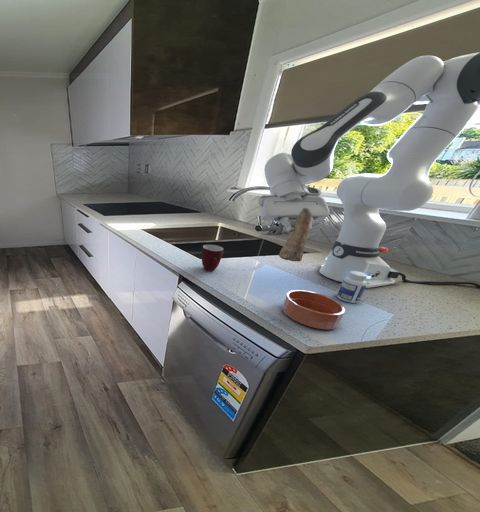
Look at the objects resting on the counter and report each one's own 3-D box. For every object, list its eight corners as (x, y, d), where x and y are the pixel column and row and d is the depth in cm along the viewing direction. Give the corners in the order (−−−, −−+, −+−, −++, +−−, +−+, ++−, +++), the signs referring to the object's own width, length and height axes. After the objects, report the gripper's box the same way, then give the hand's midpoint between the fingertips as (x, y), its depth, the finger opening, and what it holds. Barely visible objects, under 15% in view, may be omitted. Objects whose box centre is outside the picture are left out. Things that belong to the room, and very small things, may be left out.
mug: (225, 276, 99) (230, 253, 95) (205, 276, 99) (209, 253, 96) (214, 265, 109) (218, 244, 105) (196, 265, 109) (200, 244, 105)
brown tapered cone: (274, 256, 86) (286, 264, 80) (286, 206, 78) (300, 211, 73) (292, 255, 86) (306, 262, 80) (306, 204, 78) (322, 209, 73)
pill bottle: (351, 295, 84) (362, 270, 80) (362, 304, 79) (375, 278, 76) (332, 294, 85) (343, 269, 82) (342, 302, 81) (354, 276, 77)
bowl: (311, 304, 80) (316, 289, 78) (351, 330, 68) (358, 314, 66) (271, 304, 80) (276, 290, 78) (304, 331, 68) (311, 315, 66)
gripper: (262, 189, 81) (273, 225, 76) (325, 189, 80) (340, 225, 75) (252, 200, 87) (261, 235, 82) (310, 200, 86) (323, 235, 81)
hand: (300, 230), depth 78 cm, fingers closed on brown tapered cone, 4 cm apart
